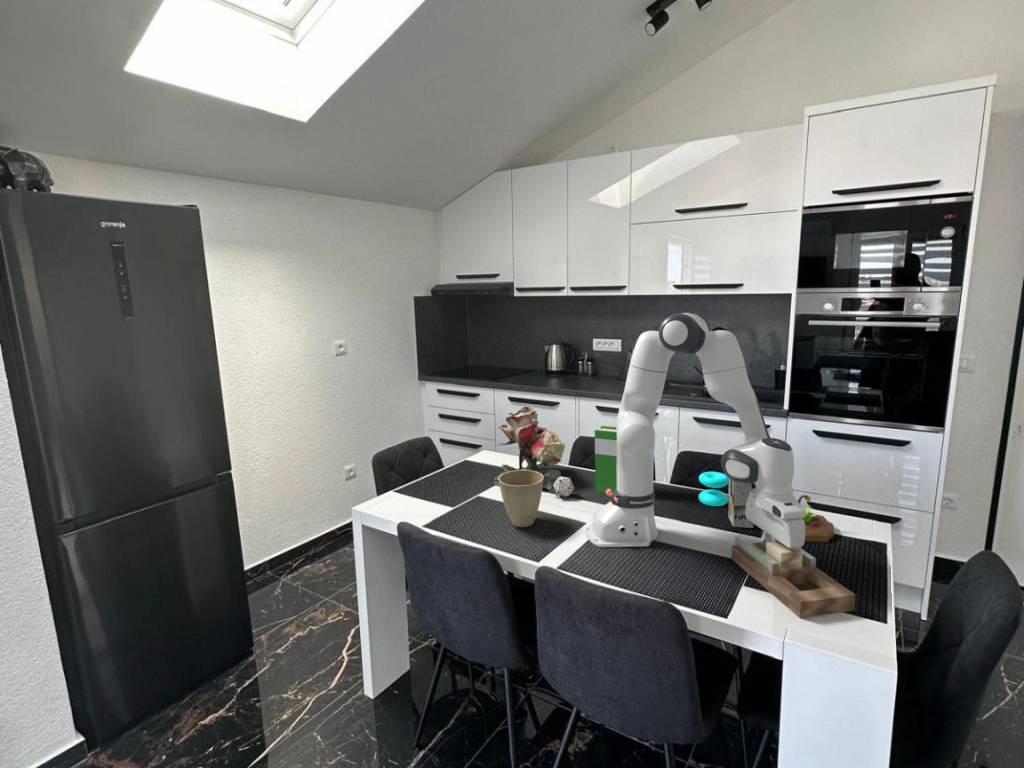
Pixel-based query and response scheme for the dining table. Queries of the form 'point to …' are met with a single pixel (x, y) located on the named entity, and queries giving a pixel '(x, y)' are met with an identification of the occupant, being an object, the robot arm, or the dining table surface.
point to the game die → (563, 486)
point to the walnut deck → (799, 587)
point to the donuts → (715, 482)
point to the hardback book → (606, 459)
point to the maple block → (784, 556)
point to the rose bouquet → (532, 444)
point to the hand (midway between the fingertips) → (771, 548)
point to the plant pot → (521, 495)
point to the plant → (816, 526)
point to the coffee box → (739, 503)
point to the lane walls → (765, 559)
